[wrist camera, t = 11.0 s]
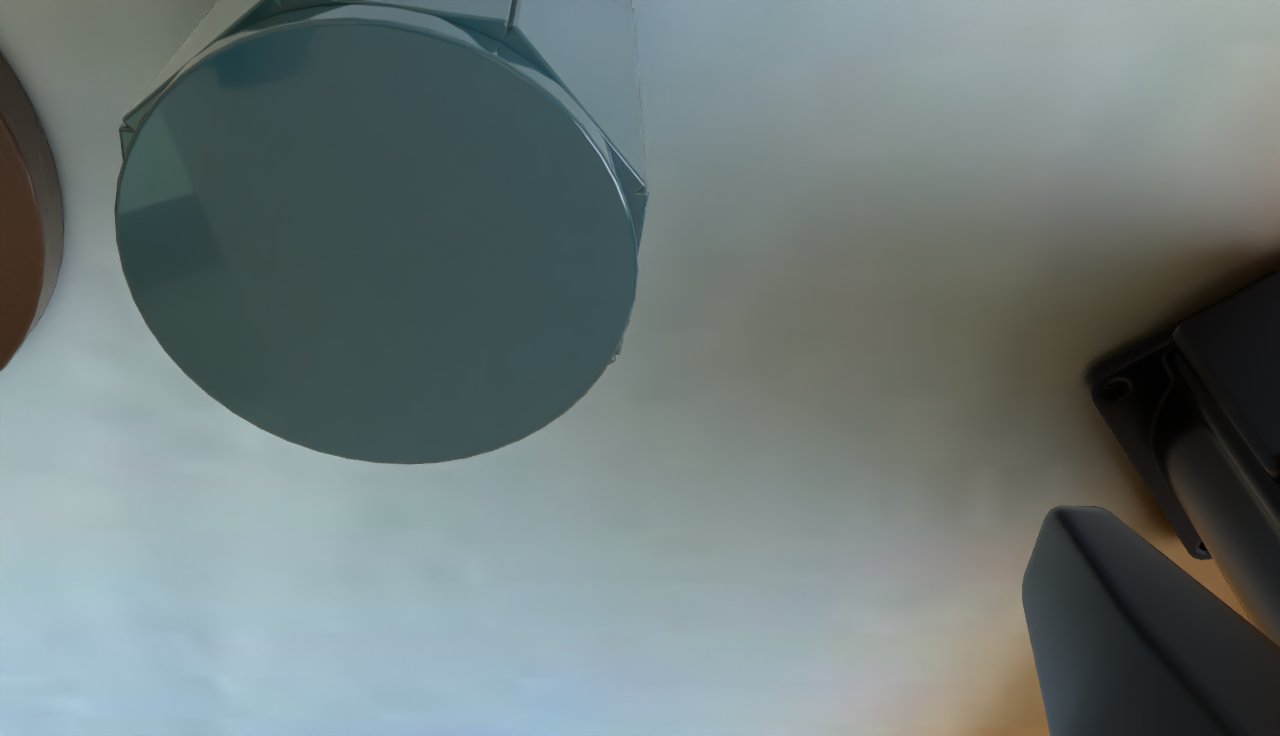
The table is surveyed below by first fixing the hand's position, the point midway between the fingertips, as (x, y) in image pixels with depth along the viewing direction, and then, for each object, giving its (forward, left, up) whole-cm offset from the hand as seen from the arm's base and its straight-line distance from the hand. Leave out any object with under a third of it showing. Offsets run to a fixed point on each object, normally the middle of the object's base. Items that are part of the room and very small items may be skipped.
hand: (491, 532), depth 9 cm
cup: (+1, +2, -12) cm, 12 cm away
